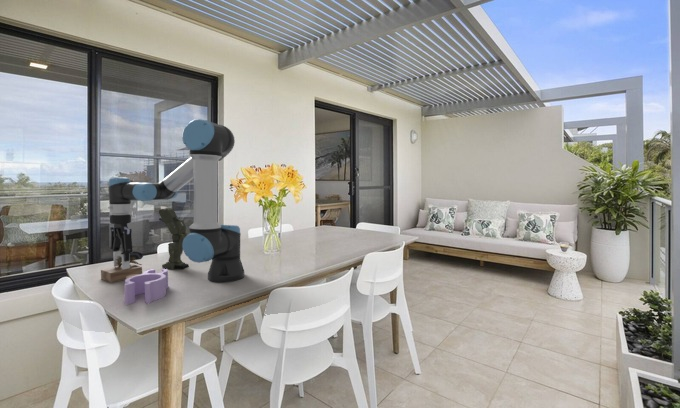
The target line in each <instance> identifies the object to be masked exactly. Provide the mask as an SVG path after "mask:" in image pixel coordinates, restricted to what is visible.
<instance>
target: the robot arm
mask: <svg viewBox="0 0 680 408" xmlns="http://www.w3.org/2000/svg"><path fill="white" fill-rule="evenodd" d="M181 138H182V143H183V144H184V145H185V147H186V148H188V156H189V157H190V158H189V157H188V159H187V160H185V162H183V163H182V164H180V165H179V166H178V167H177V168H176V169H174V170H173V171H172V172H171V173H169V174H168V175H167V176H165V178H163V179H162V180H161V181H159V182H131V179H130V177H110V178H109V179H108V201H109V202H108V203H109V206H108V209H109V214H110V215H109V223H110V224H111V225H113V226H110V228H109V229H110V250H112V252H113V253H112V254H113V267H118V264H117V263H118V261H117V260H116V259H117V256H121V257H122V262H121V263H122V265H121V266H122V270H123V269H129V268H130V264H131V263H130V253H132V252H133V239H132V233H133V232H132V228H129V227H128V224H130V223H132V214H131V213H132V203H131V202H132V201H135V202H138V201H140V202H150V201H160V200H166V201H167V200H172V199H175V198H176V197H177V196H178V194H179V190H180V189H182V188H183V187H184V186H185V185H187V184H188V183H190V182H191V181H193V223H192V224H190V225H189V227H188V230H189V231H188V234H187V236H186V238H184V240H183V253H184V255H185V256H186V257H188V259H189V260H190V261H191V262H193V263H204V262H205V263H207V262H209V261H211V262H210V267H209V269H208V272H207V280H208V281H210V282H216V283H227V282H228V283H229V282H233V281H239V280H241V279H243V278H244V277H245V269H244V266H243V263H242V260H241V228H240V226H238V225H231V224H230V225H229V224H221V223H219V222H218V185H219V184H218V179H219V177H218V172H219V171H218V162H220V161H222V160H223V159H224V158H225V157H227V156H228V155H229V154H230V153H231V152H232V150H233V148H234V147H235V136H234V133H233V132H232V130H231V129H230V128H228V127H227V126H224V125H222V124H218V123H215V122H213V121H209V120H206V119H201V118H200V119H193V120H191V121H189V122H188V124H186V125H185V126H184V128H183V130H182V135H181ZM121 263H120V264H121Z"/></svg>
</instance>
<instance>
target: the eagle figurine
mask: <svg viewBox="0 0 680 408" xmlns="http://www.w3.org/2000/svg"><path fill="white" fill-rule="evenodd" d="M143 257H144V255H143V254H142V253H141V252H139V251H132V252H131V253H130V268H131V264H134V265H138V266H142V265H143V264H141V263H139V262H138V261H140V260H141V259H143ZM116 260H117V261H118V263H117V264H118V266H117V267H118V268H120V267H121V266H122V255H121V256H117V259H116ZM120 263H121V264H120Z"/></svg>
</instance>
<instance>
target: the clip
mask: <svg viewBox="0 0 680 408" xmlns="http://www.w3.org/2000/svg"><path fill="white" fill-rule="evenodd" d="M123 289H124V293H123V294H124V305H125V306H126V305H131V304H133V303H136V295H141V294H144V303H145V304H147V305H148V304H152V302H154V301H156V300H157V299H158V300H159V299H160V300H161V299H162V298H164V297H165V296H166V295H167V289H169V270H168V269H165V268H162V269H161V271H160V272H156V269H155V268H152V269H147V270H144V271H142V274H140V275H136V276H132V277H129V278H127V279H126V280H124V285H123ZM153 300H154V301H153ZM158 300H157V301H158Z"/></svg>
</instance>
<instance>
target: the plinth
mask: <svg viewBox="0 0 680 408" xmlns="http://www.w3.org/2000/svg"><path fill="white" fill-rule="evenodd" d="M130 264H131V268H129V269H123V270H122V265H121V267H120V268H118V266H116V267H114V266H113V267H108V268H102V269H100V280H103V281H105V282H108V283H110V284H111V283H116V282H120V281H125V280H126V276H128V275H133V274H143V266H141V265H138V264H135V263H130Z"/></svg>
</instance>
